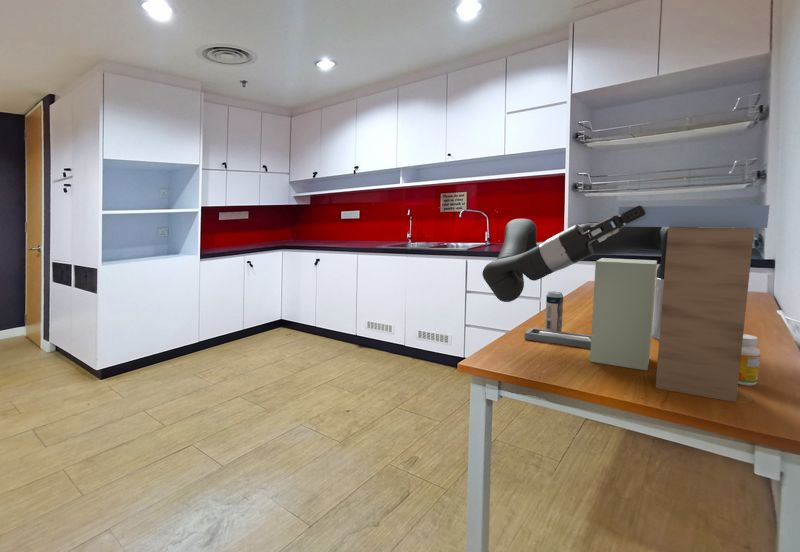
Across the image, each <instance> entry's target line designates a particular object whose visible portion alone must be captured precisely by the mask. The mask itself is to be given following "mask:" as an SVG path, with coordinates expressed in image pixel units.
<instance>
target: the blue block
mask: <svg viewBox="0 0 800 552" xmlns="http://www.w3.org/2000/svg"><path fill="white" fill-rule="evenodd" d="M635 207H636V206H618V214H619V215H620V214H621V215H622V214H623V213H625V212H627V211H629V210H631V209H633V208H635ZM642 208H643V209H644V211H645V215H644V216H642V217H640V218H638V219H636V220H634V221H632V222H630V223H627V222H626V223H627V225H626V226H624V227H698V228H751V229H767V228H768V224H769V223H768V222H769V214H770V204H769V205H768V204H767V205H766V204H765V205H764V204H762V205H761V204H758V205H757V204H755V205H752V204H751V205H745V204H744V205H671V206H670V205H669V206H667V205H664V206H663V205H662V206H661V205H660V206H656V205H655V206H643V207H642ZM622 216H623V215H622Z"/></svg>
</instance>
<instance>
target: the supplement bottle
mask: <svg viewBox="0 0 800 552" xmlns="http://www.w3.org/2000/svg"><path fill="white" fill-rule="evenodd" d="M756 345H758V337H757V336H756V335H751V334H747V333H743V341H742V351H741V361H740V370H739V380H738V385H742V386H755V385H757V384H758V379H759V377H758V376H759V371H760V370H759V369H760V362H761V361H760V359H761V350H760V349H759V348H758V346H756Z"/></svg>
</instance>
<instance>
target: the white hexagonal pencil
mask: <svg viewBox="0 0 800 552" xmlns="http://www.w3.org/2000/svg"><path fill="white" fill-rule="evenodd" d="M539 334H544V335H551V336H558V337H566V338H573V339H581V340H588V341H591V339H590V338H589V337H581V336H574V335H566V334H559V333H551V332H544V331H540V332H539Z"/></svg>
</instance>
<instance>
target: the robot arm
mask: <svg viewBox="0 0 800 552" xmlns="http://www.w3.org/2000/svg"><path fill="white" fill-rule="evenodd" d="M634 207H635V208H633V209H631V210H629V211H627V212H625V213H623V214H622V215H623V216H622V215H621V214H620V215H619V213H618V214H617V215H613V216H612V217H607V218H605V219H603V220H601V221H599V222H588V223H586V222H585V223H582V224H579V225H578V224H574V225H573V226H571V227H569V228H566V229H565V230H563V231H561V232H559V233H557V234H555V235H553V236H552V237H550V238H548V239H546V240H545V241H540V242H537V225H536V223H535V222H534V221H533V220H531V219H529V218H515V219H512V220H510V221H508V222H507V224H506V225H505V229H504V241H503V244H502V247H501V248H500V252H499V254H498V256H497V258H496V259H495V260H492V261H490V262H488V263H487V264H486V266H484V268H483V269H482V272H481V273H482V278H483V280H484V281H485V283H486V284H487V285H488V287H489V288H490V290H491V291H492V293H493V294H494V296H495V297H496V299H498V300H499V301H501V302H503V303H511V302H513V301H515V300H517V299H518V298H519V297H520V296H521V295H522V293H523V290H524V288H525V278H524V276H525V277H526V278H527V279H529V280H530V281H534V282H535V281H538V280H540V279H542V278H544V277H546V276H549V275H551V274H552V273H555V272H558V271H561V270H563V269H566V268H569V267H570V266H572V265H574V264H576V263H578V262H580V261H583V260H584V259H587V258H589V257H592V256H597V255H598V256H601V255H615V254H621V253H627V252H632V251H633V252H634V251H648V252H649V251H651V252H661V260H660V262H659V263H660V264H659V265H658V267H657V269H656V282H655V295H654V308H653V321H652V334H651V338H653V339H656V340H659V337H660V325H661V312H662V299H663V287H664V274H665V261H666V249H667V236H668V228H669V227H624V226H626V225H627V223H630V222H632V221H634V220H636V219H638V218H640V217H642V216H644V215H645V211H644V209H643V208H642V207H644V206H643V205H637V206H634ZM626 222H627V223H626ZM677 228H699V227H677Z"/></svg>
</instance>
